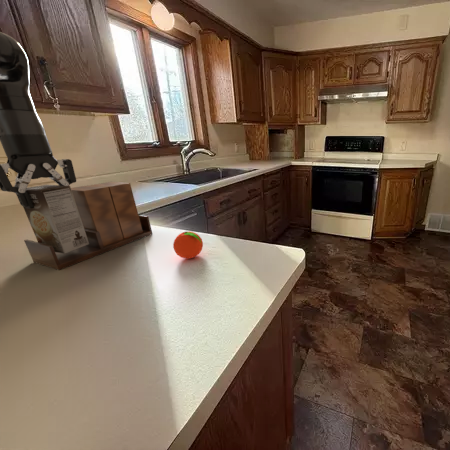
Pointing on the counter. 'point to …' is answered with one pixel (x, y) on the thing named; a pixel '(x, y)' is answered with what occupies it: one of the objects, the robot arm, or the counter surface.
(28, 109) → the robot arm
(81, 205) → the book rack
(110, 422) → the counter surface
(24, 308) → the counter surface
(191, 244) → the clementine
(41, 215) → the coffee box
